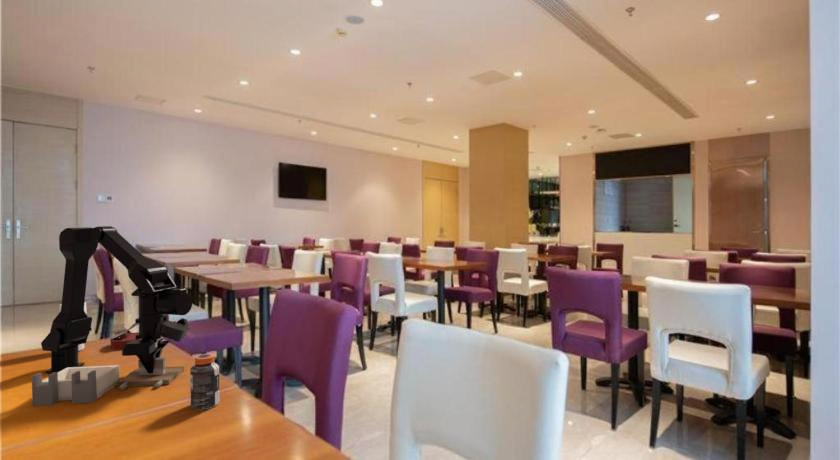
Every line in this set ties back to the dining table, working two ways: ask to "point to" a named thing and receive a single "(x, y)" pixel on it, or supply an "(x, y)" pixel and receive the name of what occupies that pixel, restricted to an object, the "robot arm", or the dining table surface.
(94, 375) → the grey notched open box
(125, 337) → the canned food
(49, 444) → the dining table surface
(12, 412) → the dining table surface
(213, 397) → the pill bottle
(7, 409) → the dining table surface
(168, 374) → the grey tabbed base plate
